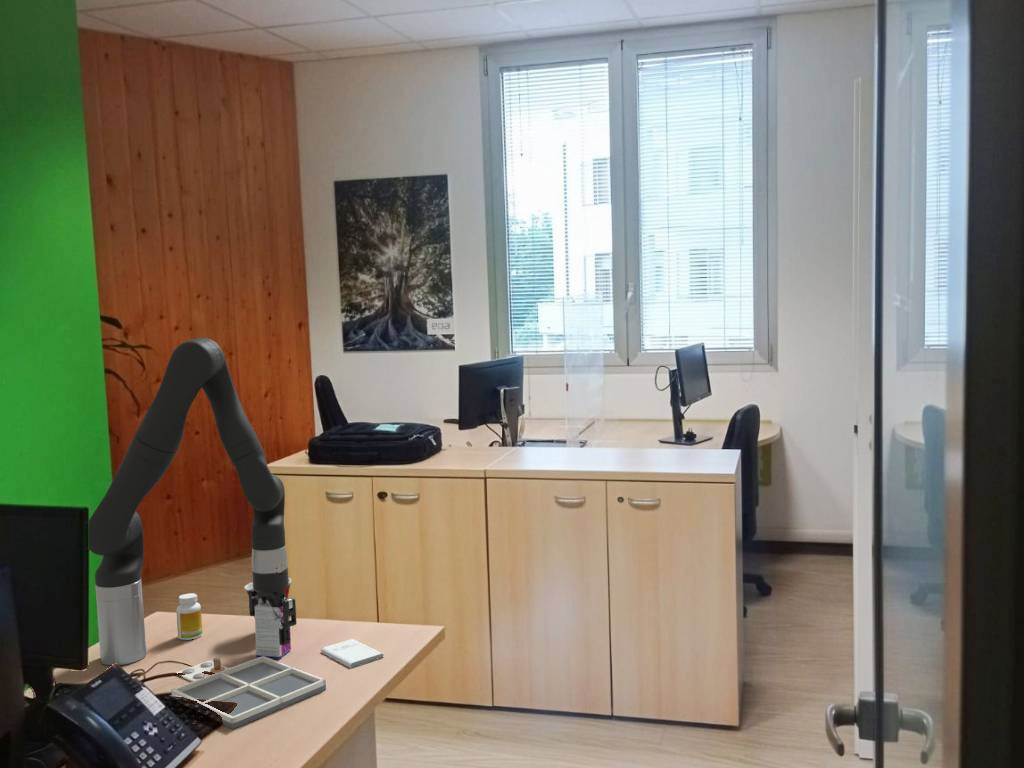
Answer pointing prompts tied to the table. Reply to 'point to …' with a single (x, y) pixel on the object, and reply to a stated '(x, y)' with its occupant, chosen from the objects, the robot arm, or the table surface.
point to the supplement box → (268, 633)
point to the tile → (202, 670)
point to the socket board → (253, 689)
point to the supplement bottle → (189, 617)
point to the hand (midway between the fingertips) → (273, 640)
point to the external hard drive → (351, 653)
